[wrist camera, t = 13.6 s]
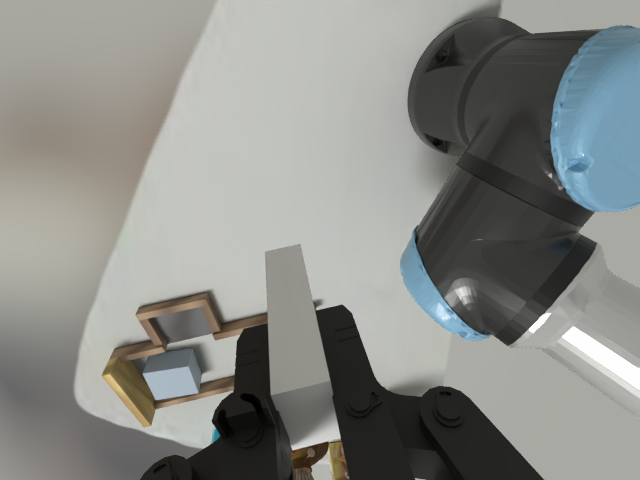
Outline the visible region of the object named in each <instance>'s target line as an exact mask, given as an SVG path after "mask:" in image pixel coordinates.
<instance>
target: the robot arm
mask: <svg viewBox="0 0 640 480" xmlns="http://www.w3.org/2000/svg"><path fill="white" fill-rule="evenodd" d="M408 112H409V117H410V121H411V124H412V126H413V129H414V130H415V132H416V134H417V135H418V136H419V138H420V139H421V140H422V141H423V142H424V143H426V144H427V145H428V146H430V147H432V148H434V149H436V150H437V151H439V152H442V153H445V154H449V155H455V156H462V157H461V159H460V160H459V162H458V163H457V165H456V166H455V168H454V169H453V171H452V173H451V174H450V176H449V178H448V179H447V181H446V182H445V184H444V186H443V187H442V189H441V190H440V192H439V194H438V195H437V197H436V199H435V200H434V202H433V203H432V205H431V207H430V208H429V210H428V211H427V213H426V215H425V216H424V218H423V220H422V221H421V223H420V224H419V225H417V226H416V227H415V229H414V231H413V233H412V238H411V240H410V241H409V243H408V245H407V247H406V249H405V251H404V253H403V254H402V257H401V261H400V270H401V274H402V276H403V281H404V283H405V285H406V287H407V289H408V291H409V292H410V294H411V295H412V297H413V298H414V299H415V301H416V302H417V303H418V304H419V305H420V307H421V308H422V309H423V310H424V311H425V312H426V313H427V314H428V315H429V316H430V317H431V318H432V319H434V320H435V321H436V322H437V323H438V324H440V325H441V326H442V327H444V328H445V329H447V330H448V331H450V332H452V333H454V334H456V333H458V334H459V335H460V336H461V337H462V338H464V339H467V340H471V341H480V340H483V339H486V338H489V337H490V336H491V335H494V336H495V337H496V338H498V339H499V340H500V341H502V342H503V343H504V344H506V345H507V346H508V347H510V348H536V349H541V350H543V351H544V352H545V353H547V354H548V355H549V356H551V357H552V358H554V359H555V360H556V361H558V362H559V363H561V364H562V365H563V366H565V367H566V368H568V369H569V370H570V371H572V372H573V373H575V374H576V375H577V376H579V377H580V378H582V379H583V380H585V381H586V382H587V383H588V384H590V385H591V386H593V387H594V388H596V389H597V390H598V391H600V392H601V393H602V394H604V395H605V396H607V397H608V398H609V399H611V400H612V401H614V402H615V403H617V404H618V405H619V406H621V407H622V408H623V409H625V410H626V411H628V412H629V413H631V414H632V415H633V416H635V417H636V418H637V419H639V420H640V288H638V287H636V286H634V285H632V284H631V283H629V282H627V281H625V280H623V279H622V278H620V277H618V276H616V275H614V274H613V273H612V272H611V271H610V270H609V269H608V268H607V266H606V262H605V259H604V254H603V250H602V247H601V245H600V244H598V243H596V242H594V241H592V240H591V239H589V238H587V237H585V236H583V235H581V234H579V232H578V231H579V230H580V229H581V228H582V227H583V225H584V224H585V223H586V222H587V221H588V219H589V218H590V217H591V216H592V215H593V214H594V213H595V212H619V211H624V210H627V209H632V208H634V207H636V206H638V205H640V28H635V27H632V26H627V25H626V26H622V25H621V26H613V27H609V28H607V29H595V30H580V31H565V32H550V33H535V34H531V33H529V32H527V31H526V30H524V29H522V28H521V27H519V26H517V25H516V24H514V23H512V22H510V21H508V20H505V19H502V18H496V17H483V18H476V19H470V20H466V21H462V22H460V23H458V24H455V25H453V26H452V27H450V28H448V29H447V30H445V31H444V32H443V33H441V34H440V35H439V36H438V37H437V38H436V39H435V40H434V41H433V42H432V43H431V44H430V45H429V46H428V48H427V49H426V50H425V52H424V53H423V55H422V56H421V58H420V60H419V61H418V63H417V65H416V68H415V70H414V72H413V75H412V78H411V82H410V86H409V92H408ZM265 262H266V287H267V313H268V323H266V324H261V325H257V326H253V327H249V328H244V329H243V331H242V333H241V335H240V337H239V339H238V341H237V349H236V364H235V367H236V369H235V378H234V392H233V393H231V394H230V395H228V396H227V397H226V398H225V399H223V400H222V401H221V403H220V404H219V406H218V407H217V409H216V410H215V412H214V416H213V419H212V423H213V424H214V426H215V428H216V429H217V431H218V433H219V434H220V437H219V438H218V439H217V440H216V441H215V442H213V443H212V444H211V445H209V446H208V447H206V448H205V449H203V450H201V451H200V452H198V453H196V454H195V455H193V456H191V457H190V458H188V459H185V458H184V457H181V456H178V455H173V456H169V457H164V458H163V459H161V460H159V461H158V462H156V463H154V464H153V465H152V466H151V467H150V468H149V469H148V470H147V471H146V472H145V473H144V474H143V476H142V478H141V479H140V480H296V475H295V471H294V467H293V464H292V462H291V450H290V445H291V448H292V450H296V449H300V448H304V447H308V446H312V445H315V444H319V443H323V442H327V441H331V440H335V439H339V438H341V441H342V446H343V451H344V455H345V460H346V465H347V470H348V474H349V479H350V480H415V478H419V479H426V480H544V479H543V478H542V477H541V476H540V475H539V474H538V473H537V472H536V471H535V469H534V468H533V467H532V466H531V465H530V464H529V463H528V462H527V461H526V460H525V459H524V457H523V456H522V455H521V454H520V453H519V452H518V451H517V450H516V449H515V448H514V446H513V445H512V444H511V443H510V442H509V441H508V440H507V439H506V438H505V437H504V436H503V434H502V433H501V432H500V431H499V430H498V429H497V428H496V427H495V426H494V425H493V423H492V422H491V421H490V420H489V419H488V418H487V417H486V416H485V415H484V414H483V413H482V412H481V411H480V409H479V408H478V407H477V406H476V405H475V404H474V403H473V402H472V401H471V399H470V398H468V397H467V396H466V395H465V394H463V393H462V392H461V391H459V390H456V389H454V388H451V387H444V386H438V387H435V388H431V389H429V390H428V391H427V392H426V393H425V394H424V395H423V396H422V397H417V396H405V395H399V394H395V393H392V392H390V391H388V390H386V389H385V388H384V387H382V386H381V385H380V384H379V382H378V381H377V380H376V378H375V376H374V374H373V371H372V368H371V366H370V363H369V360H368V357H367V354H366V352H365V349H364V346H363V343H362V340H361V338H360V335H359V332H358V329H357V327H356V324H355V321H354V318H353V315H352V313H351V312H350V311H349V310H348V309H347V308H346V307H345V306H343V305H339V306H334V307H330V308H326V309H322V310H317V311H315V309H314V304H313V300H312V295H311V291H310V286H309V282H308V277H307V272H306V268H305V263H304V259H303V254H302V250H301V245H300V244H298V245H294V246H289V247H285V248H280V249H276V250H271V251H267V252H265Z"/></svg>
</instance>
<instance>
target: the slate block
mask: <svg viewBox="0 0 640 480" xmlns="http://www.w3.org/2000/svg"><path fill="white" fill-rule="evenodd" d="M143 376H144V378H145V380H146V382H147V384H148V386H149V388H150V390H151V392H152V394H153V396H154V398H155V400H161V399H167V398H173V397H179V396H185V395H191V394H197V393H199V388H200V382H201V376H202V373H201V370H200V368H199V365H198V362H197V359H196V356H195V353H194V351H193V348H189V349H182V350H176V351H169V352H163V353H159V354H155V355H151V356H149V357H148V360H147V362H146V365H145V368H144V371H143Z"/></svg>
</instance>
